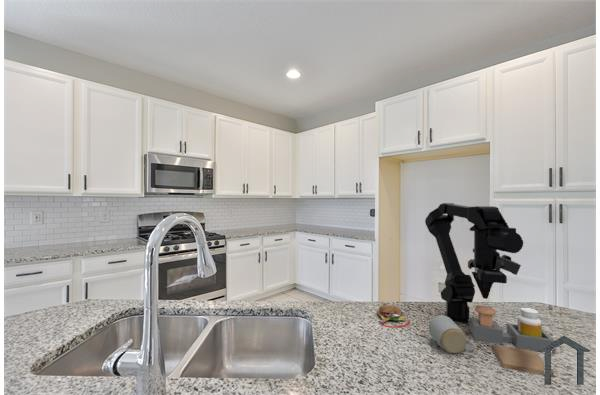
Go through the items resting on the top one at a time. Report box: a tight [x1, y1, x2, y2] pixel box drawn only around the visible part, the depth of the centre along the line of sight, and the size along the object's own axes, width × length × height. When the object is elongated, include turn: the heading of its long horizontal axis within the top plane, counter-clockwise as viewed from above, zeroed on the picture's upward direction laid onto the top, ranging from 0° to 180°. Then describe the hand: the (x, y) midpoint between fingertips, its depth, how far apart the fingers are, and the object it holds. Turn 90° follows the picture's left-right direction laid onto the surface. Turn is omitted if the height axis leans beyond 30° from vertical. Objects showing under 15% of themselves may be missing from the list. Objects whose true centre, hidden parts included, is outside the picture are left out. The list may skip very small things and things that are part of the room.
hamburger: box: [376, 304, 411, 329], centre depth 98 cm, size 14×14×6 cm
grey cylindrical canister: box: [428, 314, 475, 355], centre depth 78 cm, size 11×8×8 cm
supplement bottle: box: [517, 307, 543, 338], centre depth 81 cm, size 5×5×10 cm
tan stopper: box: [474, 305, 496, 327], centre depth 85 cm, size 5×5×6 cm
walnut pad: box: [491, 343, 555, 378], centre depth 72 cm, size 10×10×1 cm
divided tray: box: [469, 316, 556, 355], centre depth 83 cm, size 19×9×4 cm, turn 69°
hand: (485, 298), depth 85 cm, fingers closed
